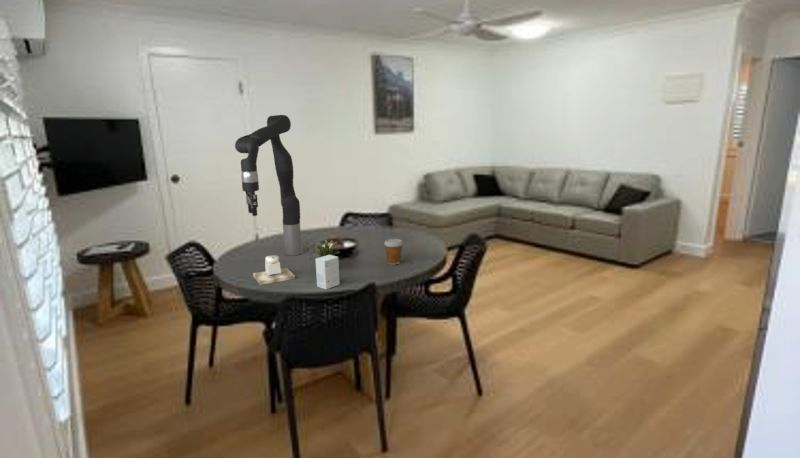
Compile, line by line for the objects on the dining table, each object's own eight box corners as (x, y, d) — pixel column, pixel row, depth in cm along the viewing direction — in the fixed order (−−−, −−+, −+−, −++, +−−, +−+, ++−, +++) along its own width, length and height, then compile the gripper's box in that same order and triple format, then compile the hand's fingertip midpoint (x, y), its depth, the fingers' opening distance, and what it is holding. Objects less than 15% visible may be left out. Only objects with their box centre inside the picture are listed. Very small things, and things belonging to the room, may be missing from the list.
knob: (265, 271, 210) (263, 255, 208) (278, 269, 213) (276, 253, 211) (268, 275, 205) (266, 259, 203) (281, 273, 208) (280, 257, 206)
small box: (330, 281, 203) (329, 254, 200) (340, 284, 199) (338, 256, 196) (316, 286, 197) (315, 258, 194) (326, 289, 193) (324, 260, 190)
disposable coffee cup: (406, 261, 232) (405, 239, 229) (398, 267, 223) (398, 243, 221) (389, 259, 236) (389, 237, 233) (381, 264, 227) (380, 242, 225)
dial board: (286, 270, 219) (285, 256, 218) (295, 278, 208) (294, 263, 206) (253, 276, 212) (252, 261, 210) (260, 284, 200) (258, 268, 198)
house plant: (327, 279, 207) (326, 245, 203) (305, 274, 214) (303, 241, 210) (347, 270, 218) (345, 238, 215) (325, 266, 226) (324, 235, 222)
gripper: (239, 179, 216) (242, 212, 219) (244, 182, 204) (247, 217, 207) (254, 178, 219) (257, 211, 223) (261, 181, 207) (264, 215, 211)
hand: (252, 214), depth 215 cm, fingers open, 8 cm apart
